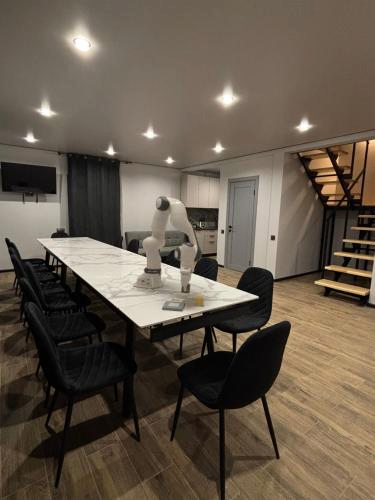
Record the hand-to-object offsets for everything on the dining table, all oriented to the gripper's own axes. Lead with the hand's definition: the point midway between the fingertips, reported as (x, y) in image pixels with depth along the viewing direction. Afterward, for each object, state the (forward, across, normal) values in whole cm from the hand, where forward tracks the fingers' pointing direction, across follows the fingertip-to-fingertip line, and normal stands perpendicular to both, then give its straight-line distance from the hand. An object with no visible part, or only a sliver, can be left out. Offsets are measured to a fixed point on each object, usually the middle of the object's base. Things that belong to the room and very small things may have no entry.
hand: (185, 289), depth 171 cm
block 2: (+8, +3, +10) cm, 13 cm away
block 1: (+2, 0, 0) cm, 2 cm away
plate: (+8, +11, -5) cm, 15 cm away
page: (+8, -1, -7) cm, 11 cm away
